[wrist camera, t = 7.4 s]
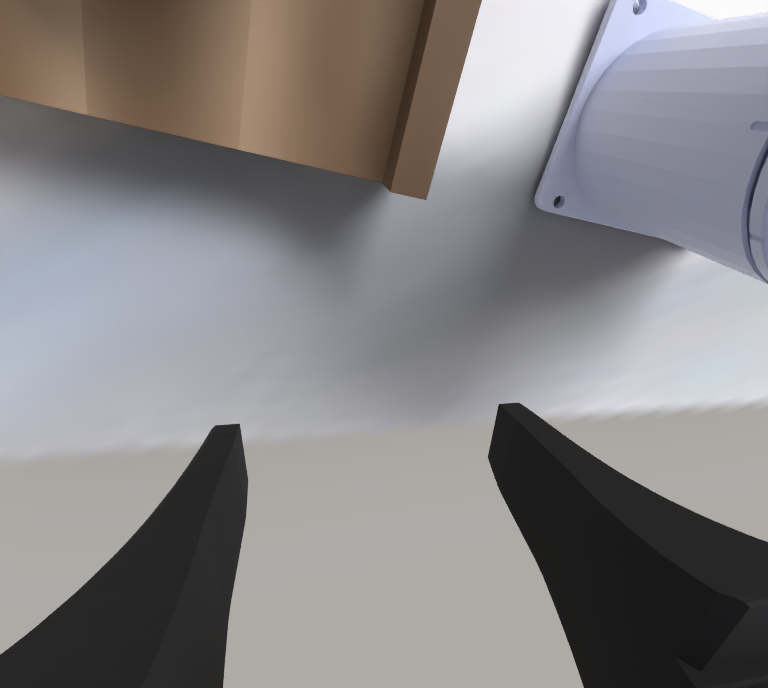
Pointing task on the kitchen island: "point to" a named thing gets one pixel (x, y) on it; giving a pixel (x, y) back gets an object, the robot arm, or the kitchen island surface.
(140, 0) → the block
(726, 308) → the kitchen island surface
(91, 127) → the kitchen island surface
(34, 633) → the robot arm
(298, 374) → the kitchen island surface
